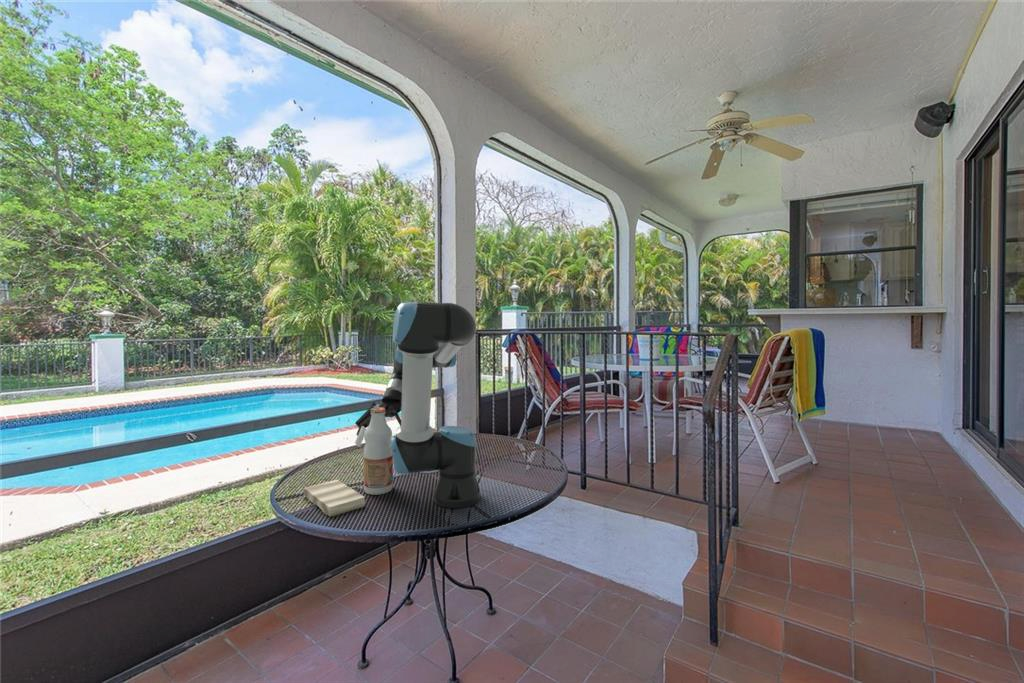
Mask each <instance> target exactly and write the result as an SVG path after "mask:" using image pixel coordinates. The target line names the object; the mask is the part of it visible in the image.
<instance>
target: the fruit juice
mask: <svg viewBox="0 0 1024 683" xmlns="http://www.w3.org/2000/svg"><path fill="white" fill-rule="evenodd" d="M370 412H371V421H370V424H369V426H368V427H367V428H365V429H366V430H365V433H364V438H363V440H364V442H365V443H364V444H365V445H364V448H363V489H364V490H363V491H364V492H365V493H366V494H368V495H371V496H374V495H385V494H387V493H389V492H391V491H392V489H393V487H394V485H393V484H394V483H393V482H394V480H393V479H394V478H393V474H394V472H393V471H394V470H393V469H394V467H393V466H394V461H393V455H392V447H391V439H390V438H391V437H392V436H393V432H392V431H393V430H392V429H391V427H390V426H389V424H388V423H387V420H386V417H385V413H386V409H385V408H382V407H377V408H372V409H371V411H370Z"/></svg>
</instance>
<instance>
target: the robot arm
mask: <svg viewBox="0 0 1024 683" xmlns="http://www.w3.org/2000/svg"><path fill="white" fill-rule="evenodd" d="M476 324H477V323H476V320H475V318H474V316H473V315H472V314H471V313H470V312H469V310H467V309H466V308H465V307H464V306H461V305H459V304H456V303H452V302H425V301H423V302H421V301H412V302H401V303H400V304H399V305H397V308H396V310H395V314H394V320H393V326H392V342H393V344H396V345H397V347H396V350H395V354H394V362H393V369H392V374H391V376H390V378H389V381H388V383H387V386H386V388H385V391H384V394H383V396H382V398H381V403H379V404H378V403H376V402H372V403H371V405H370V407H369V408H368V409H367V410H366V411H365V412H364V413H362V415H361V416H360V417H359V418H358V419H357V420H356V421H355V425H356V426H357V427H358V429H357V432H356V436H357V437H356V440H355V442H354V444H355V445H356V447H357V448H358V447H359V448H360V447H361V445H362V442H363V440H364V433H365V430H366V429H367V427H368V426H369V424H370V421H371V412H370V411H371V409H372V408H377V407H382V408H385V409H386V413H385V418H391V419H392V418H393V417H395V419H396V421H397V422H398V425H399V427H397V428H396V430H395V435H392V437H391V438H390V439H391V447H392V455H393V466H394V467H393V468H394V471H395V472H396V473H397V474H401V475H402V474H409V475H411V474H414V473H415V474H416V473H422V472H423V473H424V472H431V471H438V479H437V482H436V486H435V489H434V491H433V502H434V504H436V505H437V506H440V507H443V508H447V509H463V508H468V507H472V506H473V505H476V504H477V503H478V502H480V500H481V489H480V487H479V483H478V480H477V477H476V447H477V444H476V435H475V434H476V433H474V431H472V430H471V429H469V428H467V427H464V426H463V427H462V426H457V425H444V426H441V427H439V429H438V430H439V432H438V433H434V430H435V429H434V428H433V427H432V426H431V425H430V424H431V423H430V422H431V404H432V403H431V402H432V401H431V400H432V382H433V368H435V369H436V368H437V369H438V368H453V367H454V366H456V364H457V355H458V354H457V353H458V352H459V350H460V349H461V348H462V347H463V346H466V345H468V344H469V343H470V342H471V341H472V340H473V339H474V337H475V335H476V332H477V325H476ZM400 412H401V415H399V413H400Z"/></svg>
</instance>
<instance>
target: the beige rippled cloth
mask: <svg viewBox="0 0 1024 683" xmlns="http://www.w3.org/2000/svg"><path fill="white" fill-rule="evenodd" d="M304 495H305V496H306V498H307V499H309V500H310V501H312V502H313V503H315V504H316V505H317V506H318V507H319V508H320V509H321V510H322V511H321V510H320V509H319V510H320V511H321V512H322V513H323V514H324V515H326V516H327V515H328V516H329V517H328V516H327V517H328V518H332V517H336V516H339V515H341V514H344V513H348V512H351V511H354V510H357V509H361V508H364V507H365V505H366V501H365V500H366V499H365V498H366V497H365V496H364V495H362V494H361V493H359V492H358V491H356V490H354V489H353V488H352V487H350V486H348V485H346V484H345V483H343V482H342V481H340V480H338V479H333V480H331V481H325V482H323V483H318V484H315V485H311V486H307V487H303V496H304ZM306 498H305V499H306ZM307 499H306V500H307ZM310 501H309V502H310ZM331 516H332V517H331Z"/></svg>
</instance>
